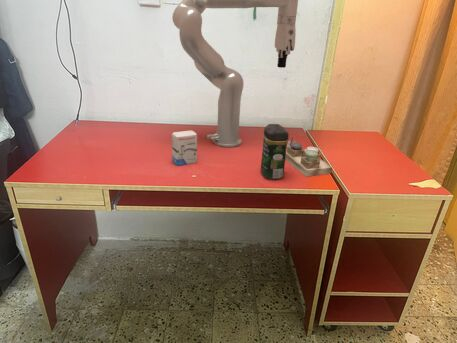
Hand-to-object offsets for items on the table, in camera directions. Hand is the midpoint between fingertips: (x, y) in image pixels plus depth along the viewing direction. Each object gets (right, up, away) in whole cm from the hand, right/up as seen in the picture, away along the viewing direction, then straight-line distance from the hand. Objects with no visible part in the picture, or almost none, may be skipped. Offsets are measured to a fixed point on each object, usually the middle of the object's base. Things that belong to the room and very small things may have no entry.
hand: (281, 67), depth 148 cm
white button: (+10, -40, -14) cm, 44 cm away
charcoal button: (+4, -38, -10) cm, 40 cm away
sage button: (+8, -42, -20) cm, 47 cm away
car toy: (+6, -33, +9) cm, 34 cm away
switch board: (+8, -43, -13) cm, 45 cm away
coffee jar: (-7, -47, -22) cm, 52 cm away
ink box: (-40, -42, -15) cm, 60 cm away
